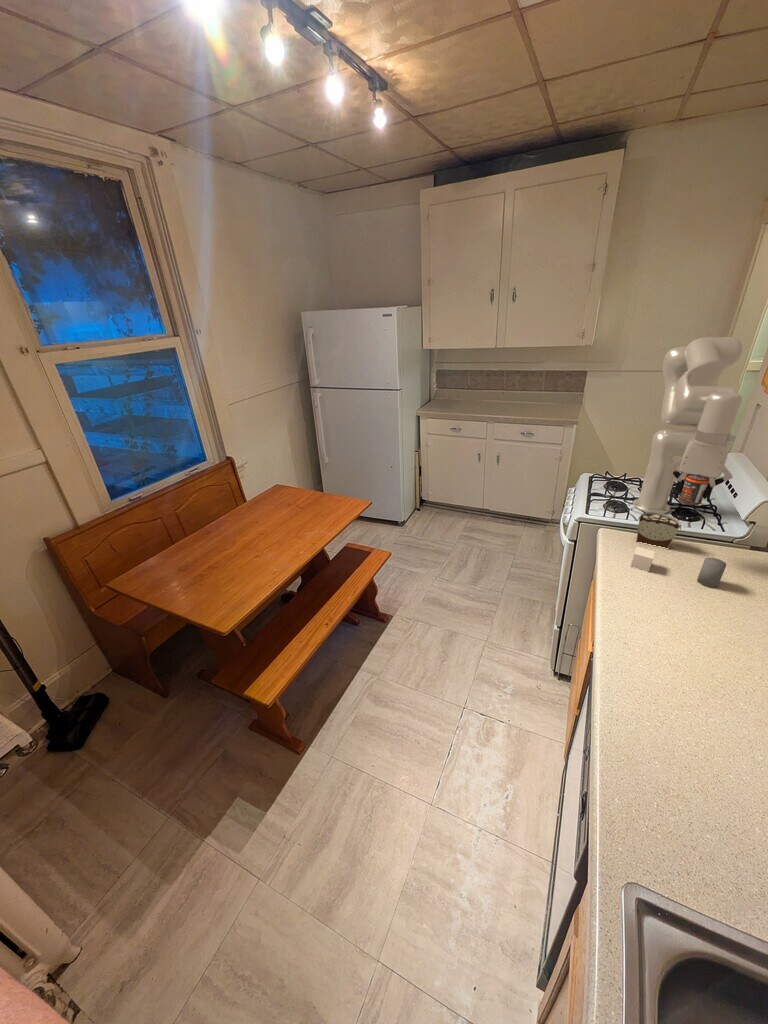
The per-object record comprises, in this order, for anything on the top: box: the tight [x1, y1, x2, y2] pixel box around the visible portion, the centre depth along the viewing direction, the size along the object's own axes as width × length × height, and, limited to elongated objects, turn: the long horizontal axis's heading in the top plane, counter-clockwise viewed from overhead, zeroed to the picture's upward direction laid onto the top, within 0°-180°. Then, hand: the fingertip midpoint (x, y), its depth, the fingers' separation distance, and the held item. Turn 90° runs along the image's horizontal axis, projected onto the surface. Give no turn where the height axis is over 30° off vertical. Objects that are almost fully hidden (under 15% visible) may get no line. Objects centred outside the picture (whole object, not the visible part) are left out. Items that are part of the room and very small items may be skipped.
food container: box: [635, 512, 682, 550], centre depth 137 cm, size 12×6×10 cm, turn 58°
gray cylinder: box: [696, 557, 727, 589], centre depth 117 cm, size 5×5×7 cm
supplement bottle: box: [677, 474, 710, 506], centre depth 121 cm, size 6×6×11 cm
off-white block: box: [630, 546, 656, 573], centre depth 126 cm, size 5×5×5 cm
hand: (691, 494), depth 123 cm, fingers closed on supplement bottle, 6 cm apart
